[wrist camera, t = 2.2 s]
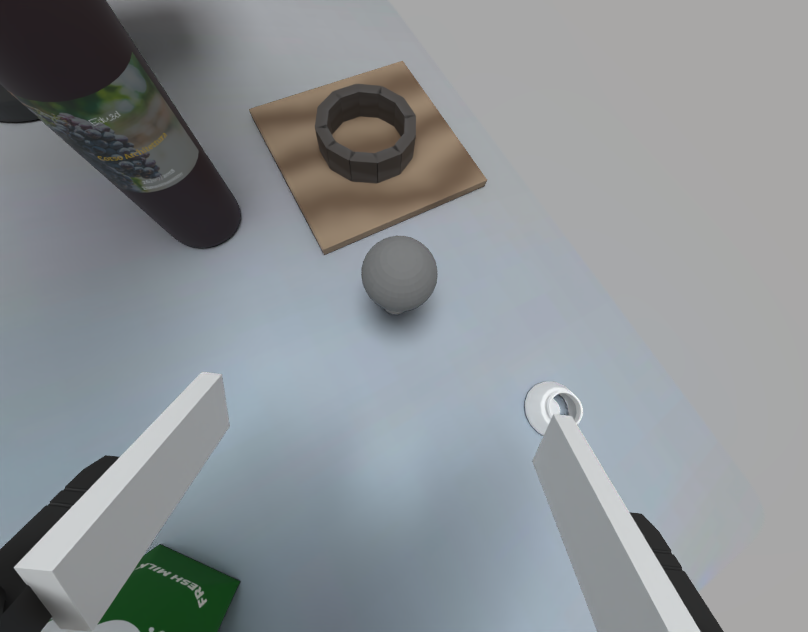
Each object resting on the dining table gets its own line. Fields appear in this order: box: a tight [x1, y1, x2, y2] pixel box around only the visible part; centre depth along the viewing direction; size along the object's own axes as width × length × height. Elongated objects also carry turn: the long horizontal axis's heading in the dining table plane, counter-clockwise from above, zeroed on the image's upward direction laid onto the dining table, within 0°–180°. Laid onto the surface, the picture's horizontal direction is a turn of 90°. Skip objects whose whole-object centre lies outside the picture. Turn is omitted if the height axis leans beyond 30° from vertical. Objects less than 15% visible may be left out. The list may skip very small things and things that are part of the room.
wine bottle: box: [0, 0, 241, 248], centre depth 20 cm, size 7×7×30 cm
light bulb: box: [361, 236, 437, 314], centre depth 28 cm, size 6×6×10 cm
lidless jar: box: [525, 382, 583, 435], centre depth 29 cm, size 5×3×5 cm
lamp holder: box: [249, 61, 487, 255], centre depth 36 cm, size 20×20×4 cm
